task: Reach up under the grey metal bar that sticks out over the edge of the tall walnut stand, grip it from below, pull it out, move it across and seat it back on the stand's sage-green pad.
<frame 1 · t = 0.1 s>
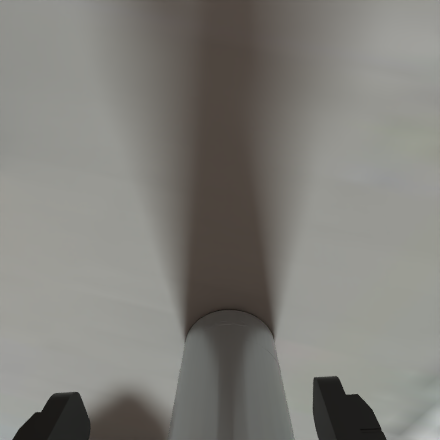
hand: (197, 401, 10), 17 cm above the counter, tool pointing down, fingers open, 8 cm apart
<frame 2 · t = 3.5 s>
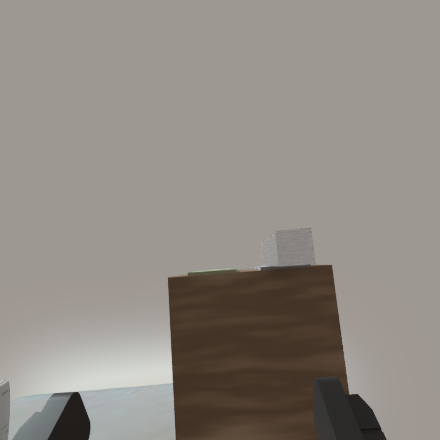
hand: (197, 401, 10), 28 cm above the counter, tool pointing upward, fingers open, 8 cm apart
bar: (281, 265, 40), point 32 cm above the counter, touching stand
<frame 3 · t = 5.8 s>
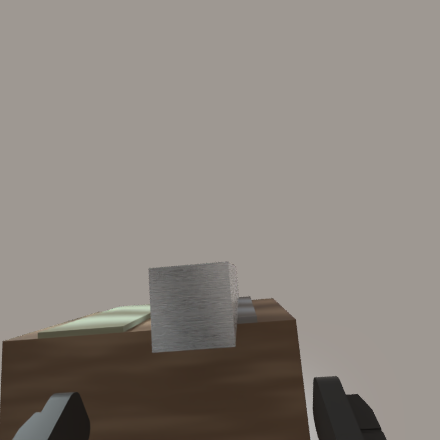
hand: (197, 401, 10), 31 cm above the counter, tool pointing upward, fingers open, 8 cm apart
bar: (215, 311, 23), point 32 cm above the counter, touching stand
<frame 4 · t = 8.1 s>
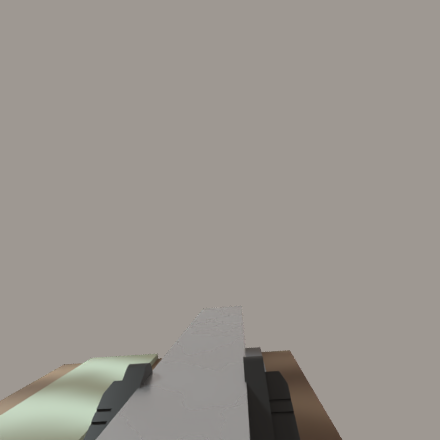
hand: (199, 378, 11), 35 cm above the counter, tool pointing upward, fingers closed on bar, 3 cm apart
bar: (215, 406, 16), point 32 cm above the counter, touching gripper, stand
when the fingers open (36 cm above the counter, at t = 15.1 s): bar stays where it is, resting on stand.
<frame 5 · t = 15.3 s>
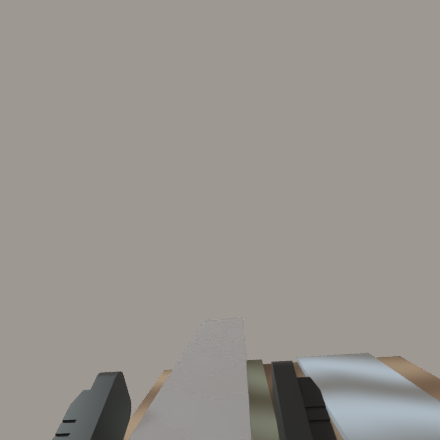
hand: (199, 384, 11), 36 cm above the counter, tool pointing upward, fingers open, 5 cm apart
bar: (217, 427, 15), point 32 cm above the counter, touching stand
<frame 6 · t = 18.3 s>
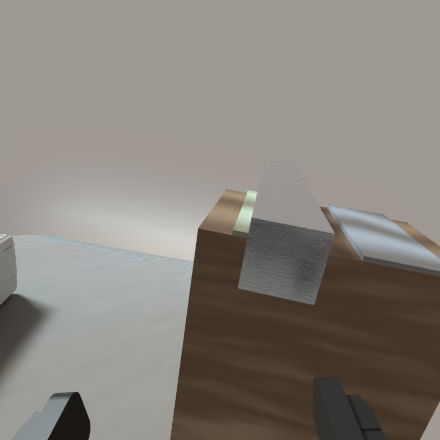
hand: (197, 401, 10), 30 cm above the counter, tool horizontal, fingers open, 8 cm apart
bar: (274, 223, 24), point 32 cm above the counter, touching stand
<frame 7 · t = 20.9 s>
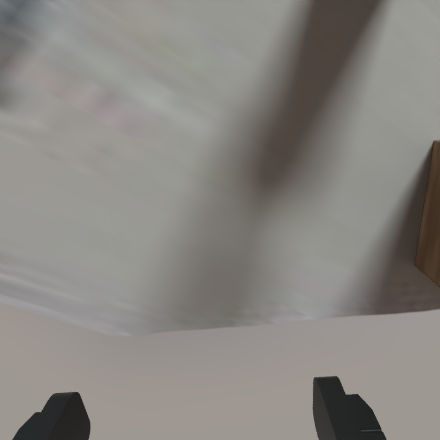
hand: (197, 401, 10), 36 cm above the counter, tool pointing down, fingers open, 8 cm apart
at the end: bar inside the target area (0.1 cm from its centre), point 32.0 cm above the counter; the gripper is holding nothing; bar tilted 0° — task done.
